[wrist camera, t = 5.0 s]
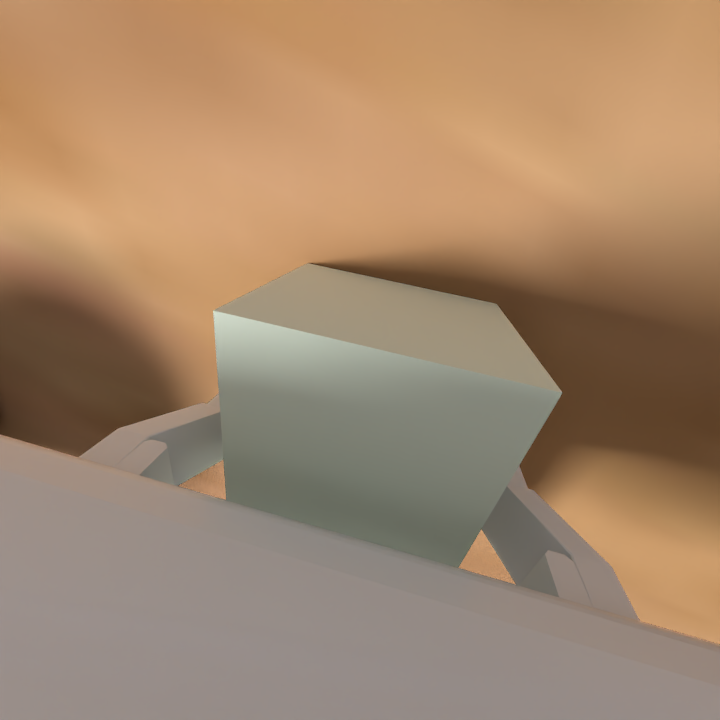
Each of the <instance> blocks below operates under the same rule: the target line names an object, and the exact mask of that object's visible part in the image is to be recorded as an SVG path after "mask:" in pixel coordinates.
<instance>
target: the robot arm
mask: <svg viewBox="0 0 720 720" xmlns="http://www.w3.org/2000/svg"><path fill="white" fill-rule="evenodd" d="M222 460H223V444H222V430H221V416H220V401H219V393H218V394H217V395H216V396H215V397H214V398H213V399H212V400H211V401H209V402H208V403H207V404H206V403H200V404H197V405H193V406H190V407H187V408H183V409H180V410H177V411H173V412H170V413H167V414H164V415H160V416H157V417H154V418H150V419H147V420H144V421H141V422H137V423H134V424H131V425H127V426H124V427H121V428H118V429H116V430H115V431H114V432H112V433H111V434H110V435H108V436H107V437H105V438H104V439H103V440H101V441H100V442H99V443H97V444H96V445H94V446H93V447H92V448H90V449H89V450H88V451H86V452H85V453H83V454H82V455H81V456H79V457H76V456H73V455H69V454H66V453H62V452H59V451H56V450H52V449H49V448H45V447H42V446H38V445H35V444H31V443H28V442H25V441H21V440H18V439H14V438H11V437H7V436H4V435H1V434H0V720H720V644H717V643H714V642H710V641H707V640H703V639H700V638H697V637H693V636H690V635H686V634H683V633H679V632H676V631H673V630H669V629H666V628H662V627H659V626H655V625H652V624H649V623H645V622H642V621H640V620H639V618H638V616H637V615H636V613H635V611H634V609H633V607H632V605H631V603H630V601H629V599H628V597H627V595H626V593H625V591H624V590H623V588H622V586H621V584H620V582H619V580H618V578H617V576H616V574H615V572H614V570H613V568H612V567H611V566H610V565H609V564H608V563H607V562H606V561H605V560H604V559H603V558H602V557H601V556H600V555H599V554H598V553H597V552H596V551H595V550H594V549H593V548H592V547H591V546H590V545H589V544H588V543H587V542H586V541H585V540H584V539H583V538H582V537H581V536H580V535H579V534H578V533H577V532H576V531H575V530H574V529H573V528H571V527H570V526H569V525H568V524H567V523H566V522H565V521H564V520H563V519H562V518H561V517H560V516H559V515H558V514H557V513H556V512H555V511H554V510H553V509H552V508H551V507H550V506H549V505H548V504H547V503H546V502H545V501H544V500H543V499H542V498H541V497H540V496H539V495H538V494H537V493H536V492H535V491H534V490H531V489H528V487H527V485H526V482H525V479H524V477H523V474H522V471H521V469H520V466H519V467H518V468H517V470H516V472H515V473H514V475H513V477H512V478H511V480H510V482H509V483H508V485H507V487H506V488H505V490H504V492H503V494H502V495H501V497H500V499H499V500H498V502H497V504H496V505H495V507H494V509H493V510H492V512H491V514H490V515H489V517H488V519H487V520H486V522H485V524H484V525H483V527H482V531H483V532H484V534H485V535H486V537H487V539H488V540H489V542H490V543H491V545H492V547H493V548H494V550H495V551H496V553H497V555H498V556H499V558H500V559H501V561H502V563H503V564H504V566H505V567H506V569H507V571H508V572H509V574H510V575H511V577H512V579H513V580H514V582H515V583H516V585H515V584H512V583H508V582H505V581H501V580H498V579H494V578H491V577H488V576H484V575H481V574H477V573H474V572H470V571H467V570H464V569H460V568H457V567H453V566H450V565H446V564H443V563H440V562H436V561H433V560H429V559H426V558H422V557H419V556H416V555H412V554H409V553H405V552H402V551H398V550H395V549H392V548H388V547H385V546H381V545H378V544H374V543H371V542H368V541H364V540H361V539H357V538H354V537H350V536H347V535H344V534H340V533H337V532H333V531H330V530H326V529H323V528H320V527H316V526H313V525H309V524H306V523H302V522H299V521H296V520H292V519H289V518H285V517H282V516H279V515H275V514H272V513H268V512H265V511H261V510H258V509H255V508H251V507H248V506H244V505H241V504H237V503H234V502H230V501H227V500H224V499H220V498H217V497H213V496H210V495H206V494H203V493H200V492H196V491H193V490H189V489H186V488H182V487H179V486H178V485H180V484H182V483H183V482H185V481H187V480H189V479H190V478H192V477H194V476H196V475H197V474H199V473H201V472H202V471H204V470H206V469H208V468H209V467H211V466H213V465H215V464H216V463H218V462H220V461H222Z"/></svg>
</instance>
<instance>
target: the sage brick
mask: <svg viewBox="0 0 720 720" xmlns="http://www.w3.org/2000/svg"><path fill="white" fill-rule="evenodd" d="M213 314H214V329H215V343H216V358H217V372H218V387H219V401H220V416H221V430H222V444H223V459H224V473H225V488H226V500H227V501H230V502H234V503H237V504H241V505H244V506H248V507H251V508H255V509H258V510H261V511H265V512H268V513H272V514H275V515H279V516H282V517H285V518H289V519H292V520H296V521H299V522H302V523H306V524H309V525H313V526H316V527H320V528H323V529H326V530H330V531H333V532H337V533H340V534H344V535H347V536H350V537H354V538H357V539H361V540H364V541H368V542H371V543H374V544H378V545H381V546H385V547H388V548H392V549H395V550H398V551H402V552H405V553H409V554H412V555H416V556H419V557H422V558H426V559H429V560H433V561H436V562H440V563H443V564H446V565H450V566H453V567H457V568H458V567H459V566H460V564H461V562H462V561H463V559H464V557H465V556H466V554H467V552H468V550H469V549H470V547H471V545H472V544H473V542H474V540H475V539H476V537H477V535H478V534H479V532H480V530H481V529H482V527H483V525H484V524H485V522H486V520H487V519H488V517H489V515H490V514H491V512H492V510H493V509H494V507H495V505H496V504H497V502H498V500H499V499H500V497H501V495H502V494H503V492H504V490H505V488H506V487H507V485H508V483H509V482H510V480H511V478H512V477H513V475H514V473H515V472H516V470H517V468H518V467H519V465H520V463H521V462H522V460H523V458H524V457H525V455H526V453H527V452H528V450H529V448H530V447H531V445H532V443H533V442H534V440H535V438H536V437H537V435H538V433H539V432H540V430H541V428H542V427H543V425H544V423H545V421H546V420H547V418H548V416H549V415H550V413H551V411H552V410H553V408H554V406H555V405H556V403H557V401H558V400H559V398H560V396H561V395H562V391H561V390H560V389H559V387H558V386H557V385H556V383H555V382H554V380H553V379H552V378H551V376H550V375H549V374H548V372H547V371H546V370H545V368H544V367H543V366H542V364H541V363H540V362H539V360H538V359H537V358H536V356H535V355H534V354H533V352H532V351H531V349H530V348H529V347H528V345H527V344H526V343H525V341H524V340H523V339H522V337H521V336H520V335H519V333H518V332H517V331H516V329H515V328H514V327H513V325H512V324H511V323H510V321H509V320H508V318H507V317H506V316H505V314H504V313H503V312H502V310H501V309H500V308H499V306H498V305H497V304H496V303H491V302H486V301H482V300H477V299H472V298H468V297H463V296H458V295H454V294H449V293H445V292H440V291H435V290H431V289H426V288H421V287H417V286H412V285H407V284H403V283H398V282H393V281H389V280H384V279H379V278H375V277H370V276H366V275H361V274H356V273H352V272H347V271H342V270H338V269H333V268H328V267H324V266H319V265H314V264H310V263H307V264H305V265H303V266H301V267H299V268H297V269H295V270H293V271H291V272H289V273H287V274H285V275H283V276H281V277H279V278H277V279H275V280H273V281H271V282H269V283H267V284H265V285H263V286H261V287H259V288H257V289H255V290H253V291H251V292H249V293H247V294H245V295H243V296H241V297H239V298H237V299H235V300H233V301H231V302H229V303H227V304H225V305H223V306H221V307H219V308H217V309H215V310H213Z"/></svg>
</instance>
